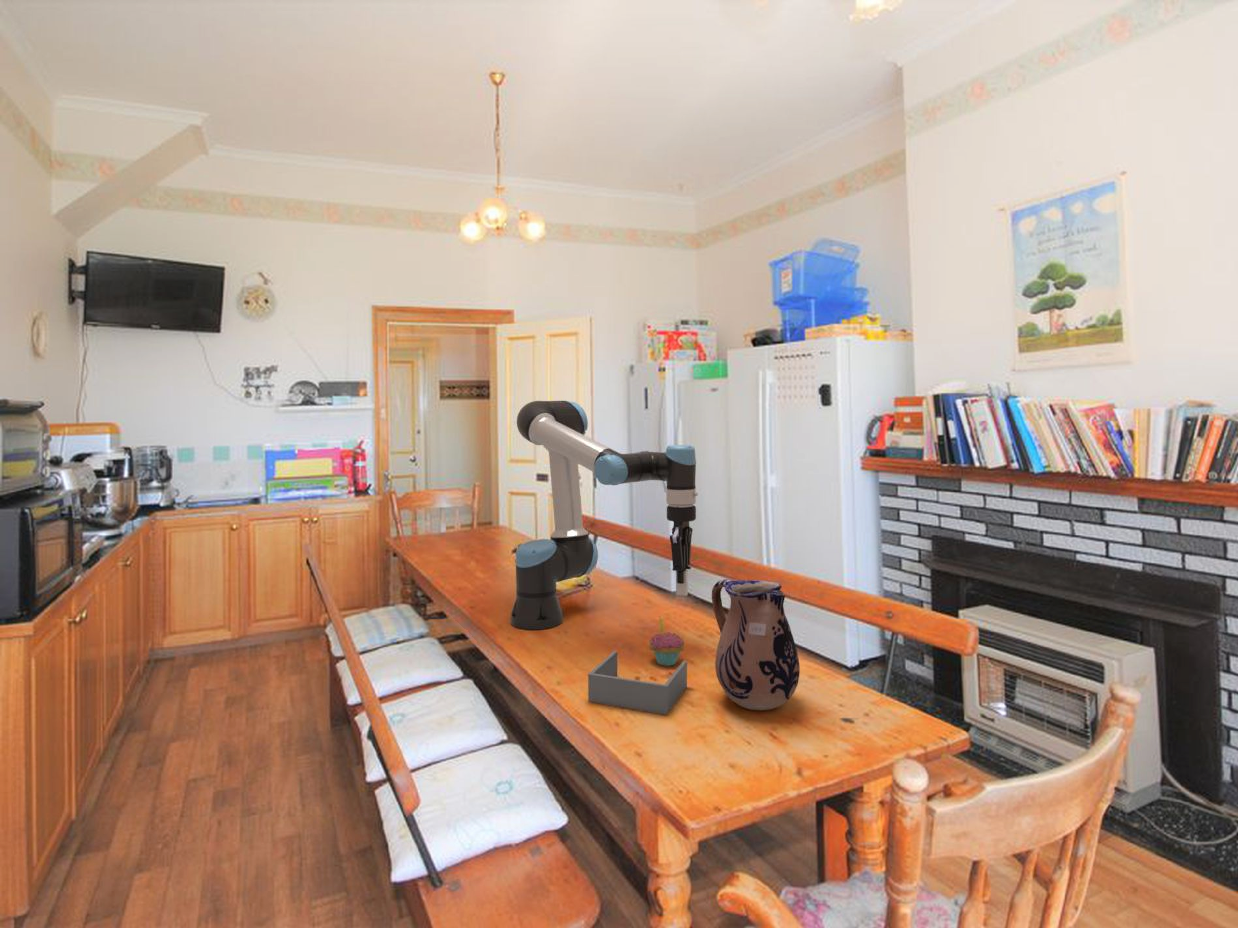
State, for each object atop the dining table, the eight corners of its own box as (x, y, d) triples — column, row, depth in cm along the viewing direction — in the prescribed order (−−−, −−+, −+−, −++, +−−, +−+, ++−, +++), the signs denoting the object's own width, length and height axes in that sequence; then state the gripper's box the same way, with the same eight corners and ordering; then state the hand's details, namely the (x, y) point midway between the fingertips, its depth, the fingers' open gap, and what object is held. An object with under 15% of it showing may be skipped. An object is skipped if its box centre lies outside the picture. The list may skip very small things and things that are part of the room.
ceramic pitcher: (773, 729, 131) (775, 603, 129) (685, 698, 145) (685, 584, 143) (813, 700, 144) (816, 585, 142) (729, 674, 158) (730, 569, 156)
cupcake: (660, 671, 160) (660, 621, 159) (643, 659, 168) (642, 612, 167) (690, 664, 164) (691, 616, 163) (672, 653, 172) (672, 607, 171)
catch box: (588, 701, 144) (588, 674, 143) (614, 675, 157) (614, 650, 157) (667, 714, 137) (667, 686, 137) (686, 687, 151) (687, 661, 150)
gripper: (688, 509, 166) (688, 602, 168) (701, 502, 178) (702, 589, 180) (659, 507, 169) (660, 599, 171) (674, 501, 181) (675, 587, 183)
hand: (681, 594), depth 176 cm, fingers closed
